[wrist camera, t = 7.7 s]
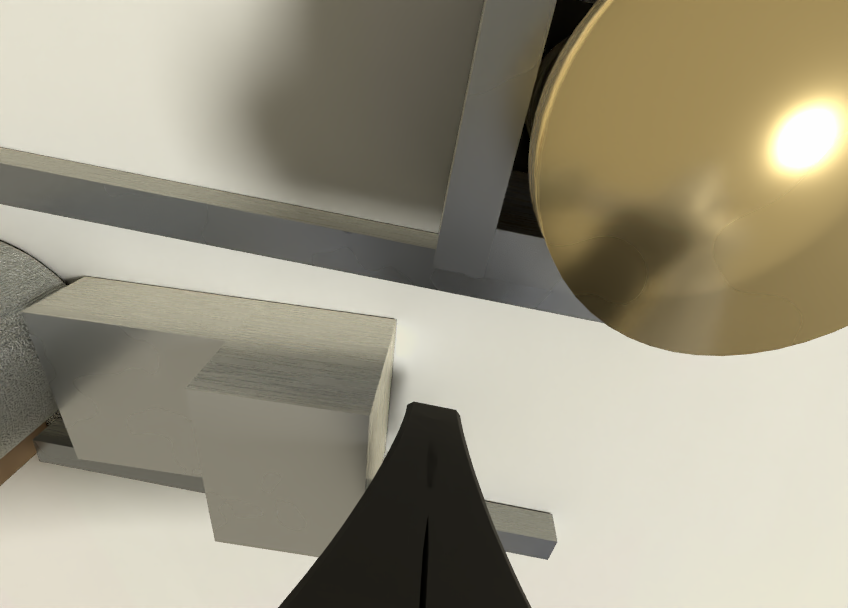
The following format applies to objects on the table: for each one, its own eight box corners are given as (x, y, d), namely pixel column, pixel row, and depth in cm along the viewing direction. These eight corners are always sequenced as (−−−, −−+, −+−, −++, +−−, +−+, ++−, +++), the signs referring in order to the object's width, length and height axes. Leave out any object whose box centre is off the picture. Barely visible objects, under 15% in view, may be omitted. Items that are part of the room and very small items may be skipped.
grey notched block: (396, 319, 10) (369, 415, 7) (384, 449, 12) (360, 563, 9) (84, 276, 10) (-55, 353, 7) (124, 411, 12) (25, 511, 9)
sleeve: (668, 279, 9) (686, 298, 8) (543, 532, 13) (547, 559, 12) (-29, 141, 9) (-73, 148, 8) (63, 438, 13) (39, 461, 12)
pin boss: (756, -17, 6) (1018, -89, 3) (628, 271, 9) (715, 386, 6) (497, -69, 6) (524, -190, 3) (437, 234, 9) (420, 327, 6)
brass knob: (729, 13, 6) (1248, -85, 2) (644, 210, 7) (852, 386, 3) (527, -29, 6) (644, -204, 2) (479, 177, 7) (492, 315, 3)
